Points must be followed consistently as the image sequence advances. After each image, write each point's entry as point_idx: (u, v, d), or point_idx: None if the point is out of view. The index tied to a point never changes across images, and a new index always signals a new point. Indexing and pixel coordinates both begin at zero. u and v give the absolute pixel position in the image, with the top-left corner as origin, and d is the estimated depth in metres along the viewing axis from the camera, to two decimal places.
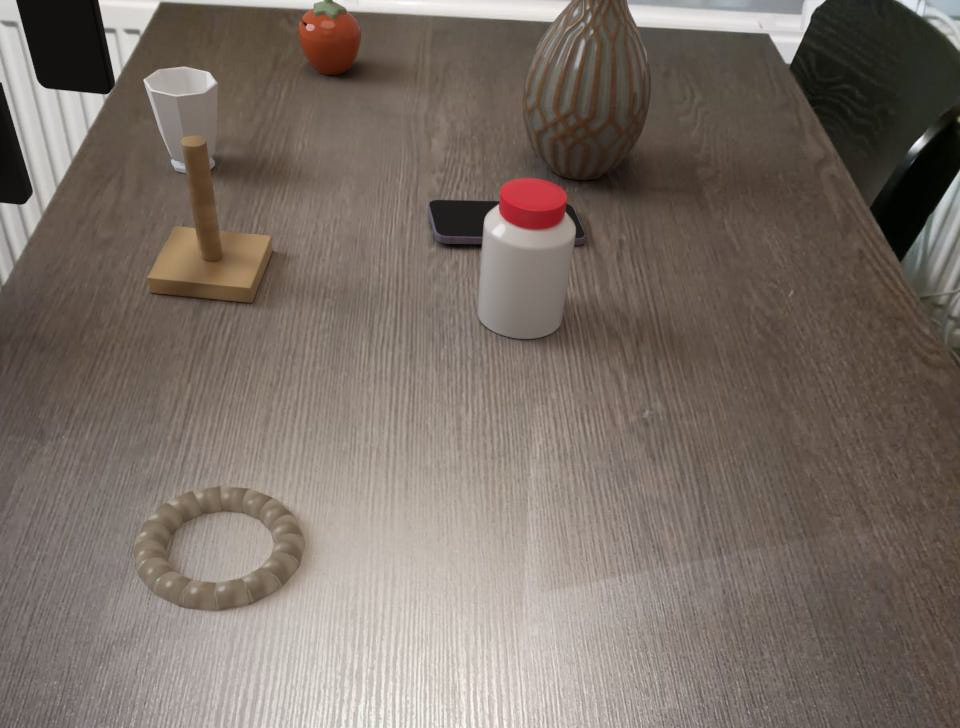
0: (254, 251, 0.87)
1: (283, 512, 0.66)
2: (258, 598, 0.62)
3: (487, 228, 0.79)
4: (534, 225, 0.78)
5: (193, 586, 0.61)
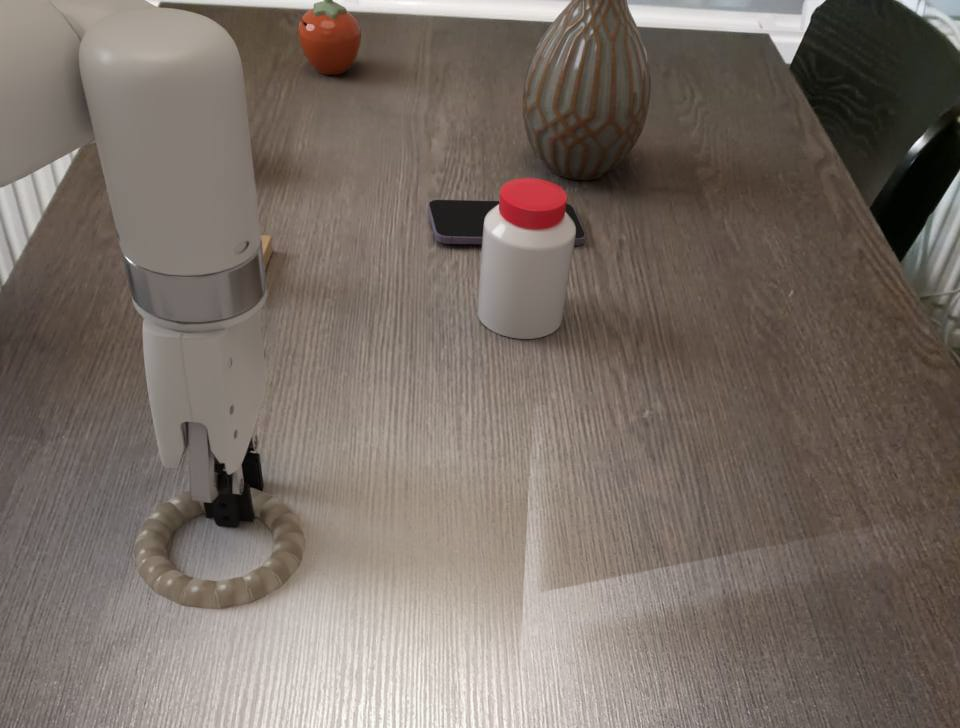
0: None
1: (284, 511, 0.66)
2: (259, 596, 0.62)
3: (487, 228, 0.79)
4: (534, 225, 0.78)
5: (194, 584, 0.61)
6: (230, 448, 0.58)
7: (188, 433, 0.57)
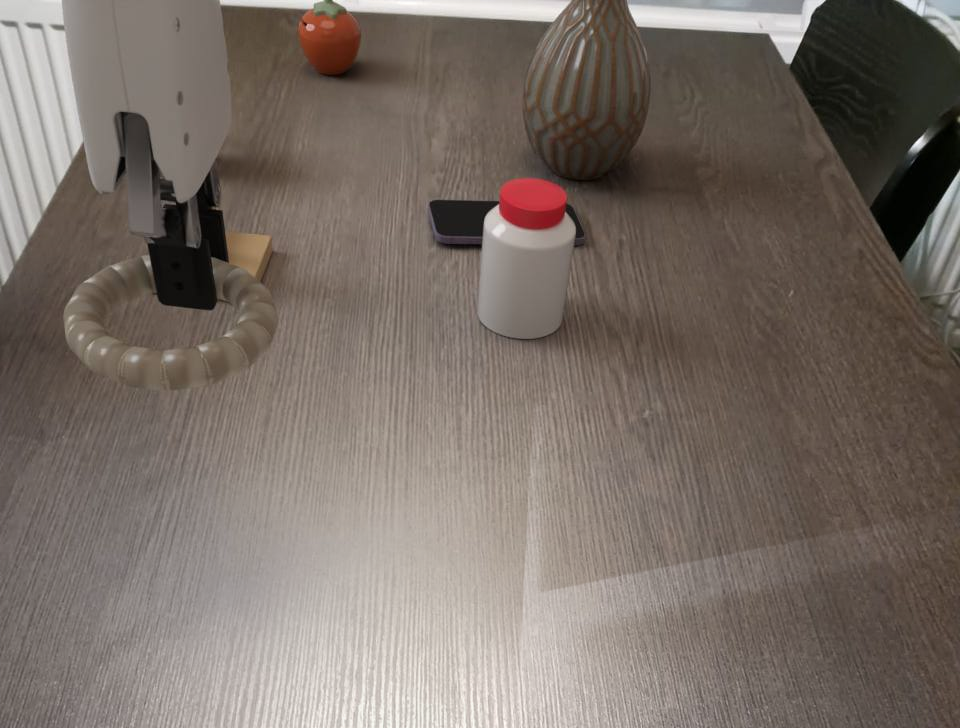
0: (254, 251, 0.87)
1: (253, 281, 0.53)
2: (218, 372, 0.49)
3: (487, 228, 0.79)
4: (534, 225, 0.78)
5: (135, 351, 0.48)
6: (179, 157, 0.45)
7: (124, 135, 0.44)
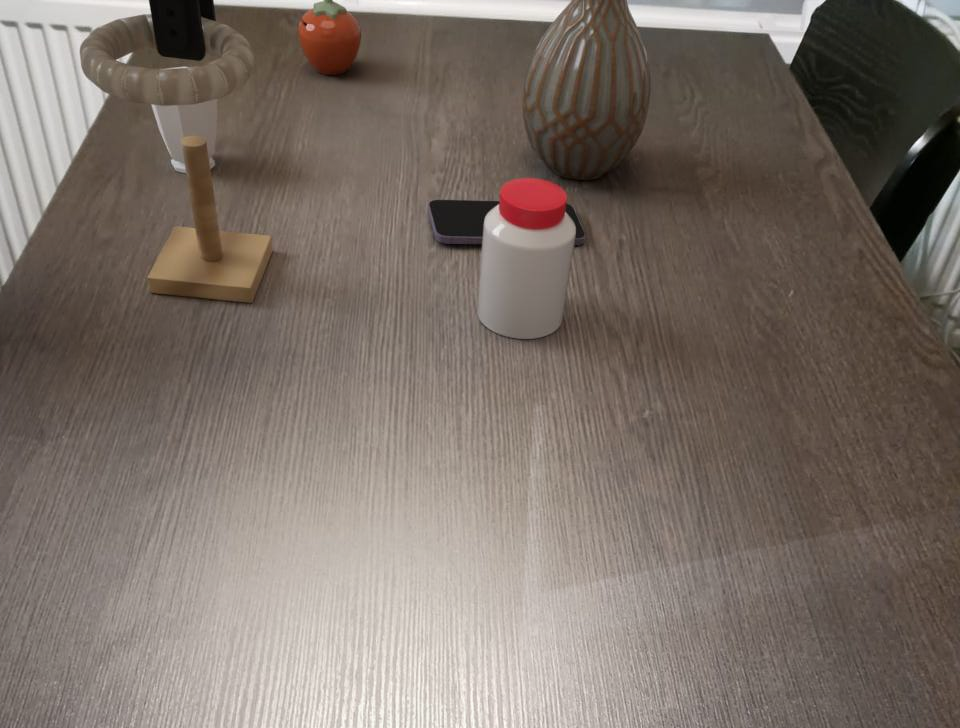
0: (254, 251, 0.87)
1: (234, 32, 0.65)
2: (202, 89, 0.61)
3: (487, 228, 0.79)
4: (534, 225, 0.78)
5: (136, 68, 0.60)
6: None
7: None
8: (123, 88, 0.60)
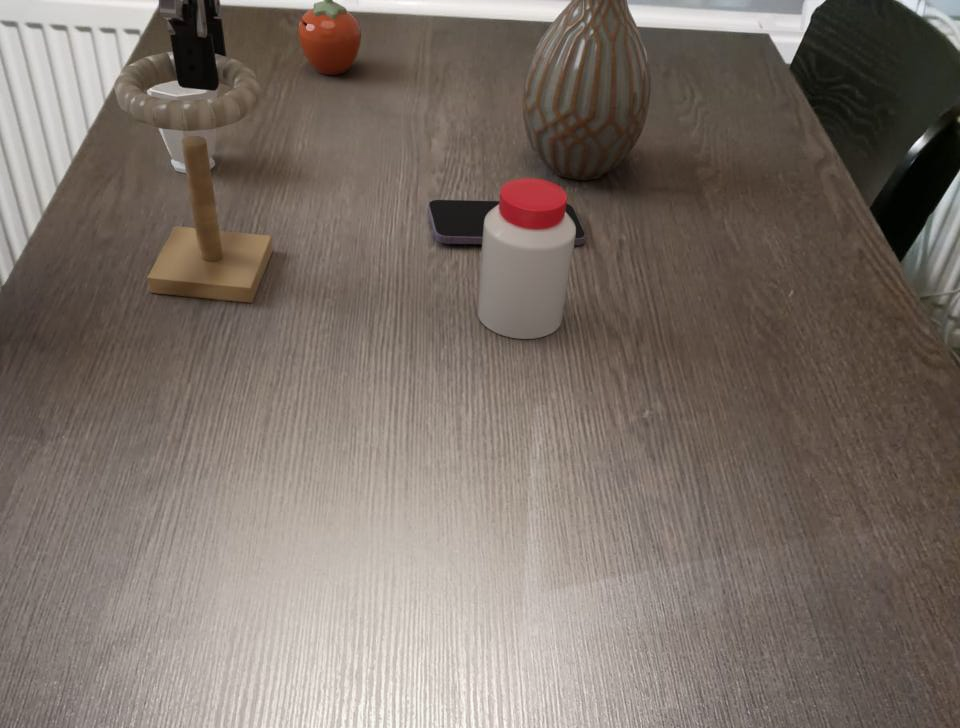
0: (254, 251, 0.87)
1: (243, 66, 0.77)
2: (219, 116, 0.73)
3: (487, 228, 0.79)
4: (534, 225, 0.78)
5: (164, 101, 0.72)
6: None
7: None
8: (153, 117, 0.73)
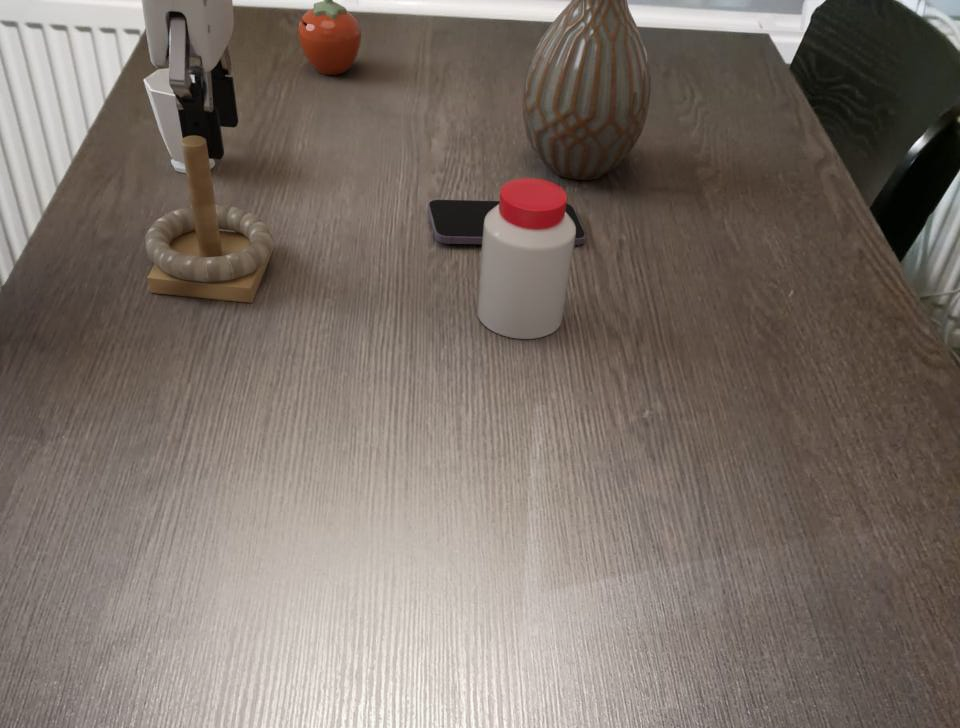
0: None
1: (258, 220, 0.87)
2: (237, 270, 0.83)
3: (487, 228, 0.79)
4: (534, 225, 0.78)
5: (188, 258, 0.82)
6: (205, 40, 0.74)
7: None
8: (179, 272, 0.83)
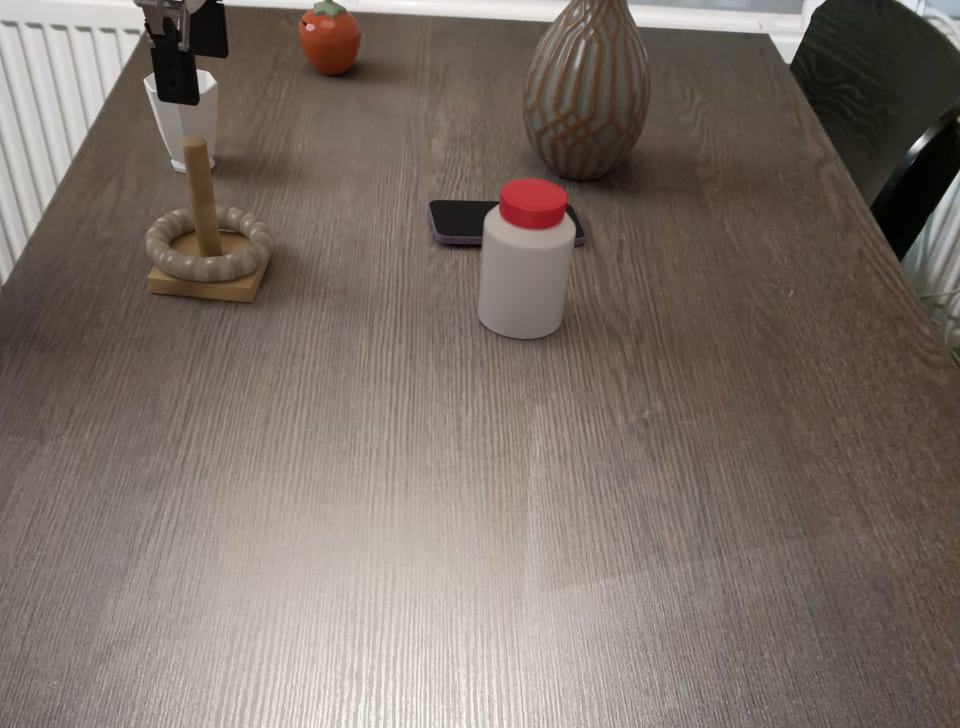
0: None
1: (258, 220, 0.87)
2: (237, 270, 0.83)
3: (487, 228, 0.79)
4: (534, 225, 0.78)
5: (188, 258, 0.82)
6: None
7: None
8: (179, 272, 0.83)
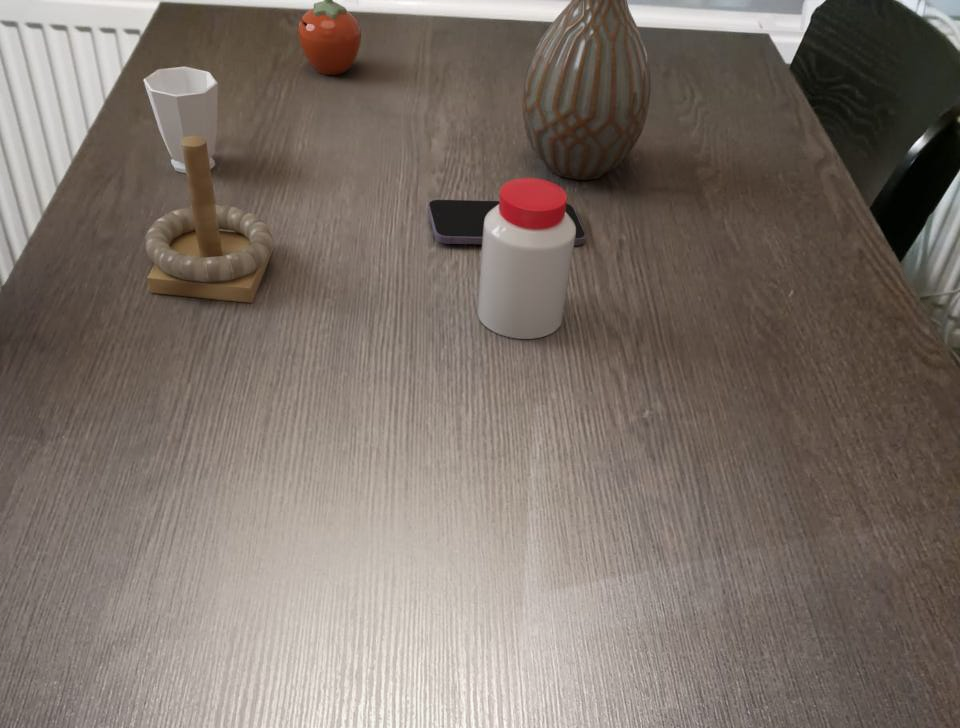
0: None
1: (258, 220, 0.87)
2: (237, 270, 0.83)
3: (487, 228, 0.79)
4: (534, 225, 0.78)
5: (188, 258, 0.82)
6: None
7: None
8: (179, 272, 0.83)
